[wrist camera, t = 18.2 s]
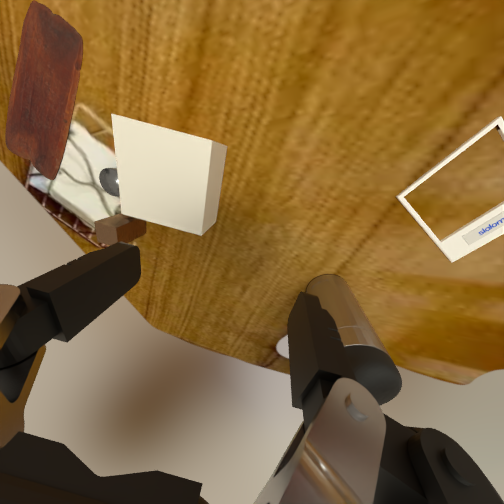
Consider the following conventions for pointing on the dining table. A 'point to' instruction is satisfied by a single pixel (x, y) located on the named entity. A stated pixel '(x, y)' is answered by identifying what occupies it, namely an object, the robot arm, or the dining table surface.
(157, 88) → the dining table surface
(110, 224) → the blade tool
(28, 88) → the wooden tablet
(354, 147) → the dining table surface
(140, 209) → the plinth shelf
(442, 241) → the photo frame
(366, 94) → the dining table surface
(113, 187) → the token
